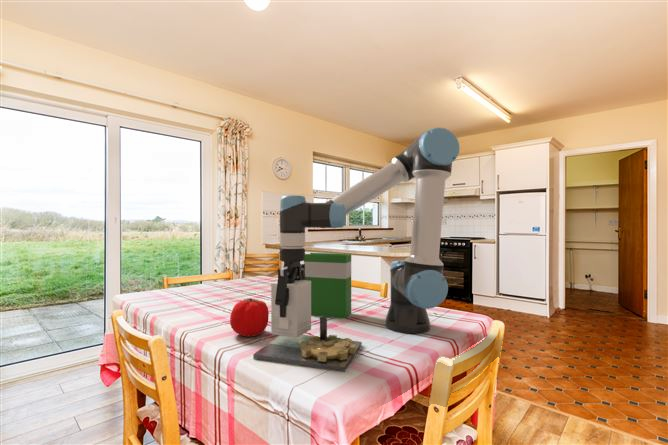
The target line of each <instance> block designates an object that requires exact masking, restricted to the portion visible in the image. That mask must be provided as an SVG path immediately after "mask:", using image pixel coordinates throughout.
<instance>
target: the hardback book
mask: <svg viewBox="0 0 668 445" xmlns="http://www.w3.org/2000/svg"><path fill="white" fill-rule="evenodd" d="M303 264H305V280H307V281H311V316H316V317H327V318H335V319H337V318H338V319H347V318H348V317H350V315H351V314H352V253H337V252H335V253H334V252H333V253H330V252H329V253H328V252H310V253H305V260H304V261H303Z"/></svg>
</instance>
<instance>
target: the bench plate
mask: <svg viewBox="0 0 668 445" xmlns="http://www.w3.org/2000/svg"><path fill="white" fill-rule="evenodd" d="M311 337H314V335H309V334H308V335H307V334H303V335H301V336H299V337H298V338H293V337H286V336H280V335H278V336H277V337H276V338H274V339H273V340H271V341H270V342H268V343H267V344H266V345H265V346H263V347H262V348H260V349H259V350H258V351H256V352H255V353H253V359H254V360H259V361H267V362H273V363H279V364H280V363H281V364H285V365H286V364H288V365H294V366H300V367H301V366H302V367H307V368H308V367H309V368H314V369H321V370H327V371H335V372H342V373H345V372H346V370H347V369H348V368H349V366H350V365H351V364H352V361H353V360H354V358H355V357H356V355H357V354H358V352H359V351H360V350H361V348H362V346H363V342H362V341H358V340H352V344H354V345H356V352H355V354H351V353H349V354H348V359H344V360H339V359H327V361H326V362H323V361H318V358H314V357H307V358H306V357H304V356H303V355H302V350H300V344H301V342H302V341H309V340H311Z"/></svg>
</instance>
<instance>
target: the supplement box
mask: <svg viewBox="0 0 668 445" xmlns="http://www.w3.org/2000/svg"><path fill="white" fill-rule="evenodd" d="M277 282H278V280H277V281H273V282H271V284H270V294H271V295H270V300H271V302H270V308H271V310H270V312H271V313H270V315H271V316H270V317H271V318H270V319H271V320H270V321H271V322H270V324H271V326H270V328H271V330H270V334H271V335H276V336H286V337H293V338H298V337H299V336H301V335H305V334H306V333H308V332H309V331H311V330H312V315H311V281H307V280H294V283H291V284H287V288H289V301H288V305H289V329H282V328H279V307H280V306H279V305H276V304H275V299H276V291H277Z"/></svg>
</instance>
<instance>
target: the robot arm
mask: <svg viewBox="0 0 668 445" xmlns="http://www.w3.org/2000/svg"><path fill="white" fill-rule="evenodd" d="M460 147H461V146H460V142H459V139H458V138H457V136H456V135H455V134H454V133H453V132H452V131H451V130H449V129H447V128H445V127H433V128H431V129H428V130H426V131H424V132H423V133H422V134H421V135H420V137H418V138H416V139H415V140H414V141H412V142H411V143H410V144H409V145H408V146H407V147H406V148H405V149H404V150H403V151H401V152H400V153H399V154H397V155H396V156H395V157H394V156H393V158H392V159H391V162H390V163H388V164H387V165H385V166H384V167H381V168H380V169H378V170H376V171H375V172H374V173H372V174H371V175H369V176H367V177H366V178H365V177H364V179H361V181H359V182H357V183H355V184H353V185H352V186H351V187H349V188H347V189H346V190H344V191H343V192H341V193H339V194H338V195H336V196H334V197H332V198H331V199H329V200H328V201H326V202H307V200H306V197H305V196H304V195H297V194H291V195H283V196H281V198H280V203H279V205H280V206H279V237H278V238H279V246H280V247H281V248H280V249H279V261H281V262H283V267H282V268H280V267H279V268H278V269H277V281H278V282H277V281H276V282H277V291H276V299H275V304H276V305H279V306H280V307H279V328H282V329H289V305H288V301H289V288H287V284H291V283H294V280H305V264H304V263H301V262H304V260H305V254H306V248H304V247H306V229H307V228H309V229H311V228H313V229H314V228H316V229H318V228H320V229H341V228H344V226H345V225H346V217H347V216H348V215H350V214H351V213H353V212H354V211H356V210H358V209H359V208H361V207H362V206H364V205H366V204H367V203H369V202H371V201H373V200H375V199H376V198H377V197H379V196H381V195H383V194H384V193H385V192H388V191H389V190H390V189H392V188H394V187H395V186H397V185H399V184H400V183H402V182H404V183H407V182H410V181H411V180H412V179H414V178H415V179H416V184H415V193H414V206H413V207H414V208H413V217H412V228H411V229H412V230H411V240H410V252H409V256H407V257H406V258H405V259H404V260H393V261H392V262H391V264H390V268H389V271H390V272H389V273H390V303H389V304H390V305H389V307H388V311H387V314H386V316H385V327H386V328H387V329H389V330H391V331H394V332H398V333H405V334H420V333H425V332H428V331H430V330H431V321H430V318H429V314H428V312H427V309H434V308H436V307H438V306H439V305H440V304H442V303H443V302H444V301H445V299H446V297H447V295H448V291H449V286H448V285H449V284H448V282H447V279H446V277H445V276H444V263H443V261H442V260H441V259H440V250H441V248H440V247H441V246H440V245H441V238H442V237H441V236H442V235H441V234H442V225H443V214H444V200H445V189H446V181H447V179H449V178H450V176H452V170H453V168H452V167H453V162H455V161H456V159H457V158H458V156H459V154H460V149H461V148H460Z"/></svg>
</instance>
